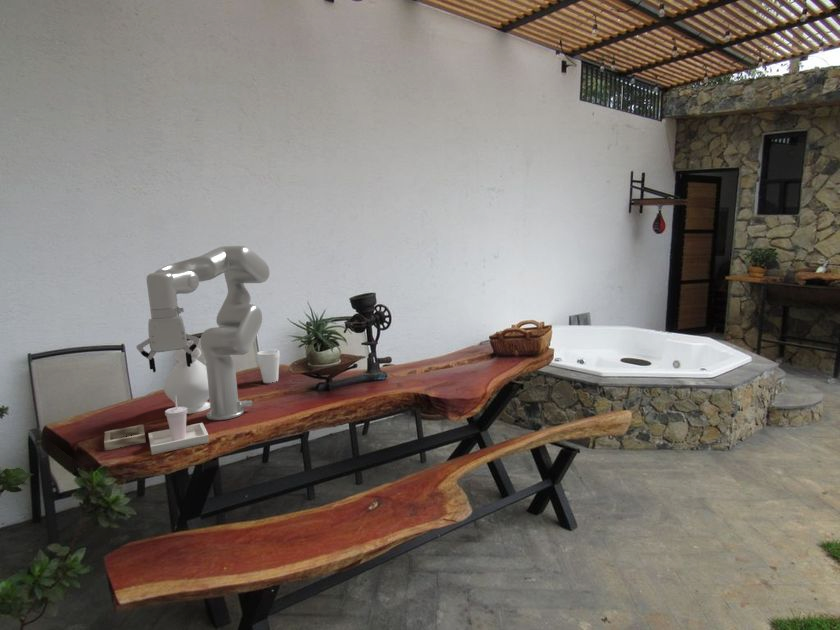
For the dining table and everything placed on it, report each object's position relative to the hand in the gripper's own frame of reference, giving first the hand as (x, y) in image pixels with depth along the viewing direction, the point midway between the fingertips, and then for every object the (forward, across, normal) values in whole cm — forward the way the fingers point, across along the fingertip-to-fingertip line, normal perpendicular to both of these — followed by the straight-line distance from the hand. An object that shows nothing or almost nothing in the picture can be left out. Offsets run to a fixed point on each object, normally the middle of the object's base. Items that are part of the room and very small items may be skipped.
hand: (171, 368), depth 161 cm
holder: (+23, +15, -10) cm, 30 cm away
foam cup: (+25, -41, -52) cm, 71 cm away
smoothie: (+23, 0, 0) cm, 23 cm away
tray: (+23, +1, +1) cm, 23 cm away
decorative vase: (+24, -7, -32) cm, 41 cm away
